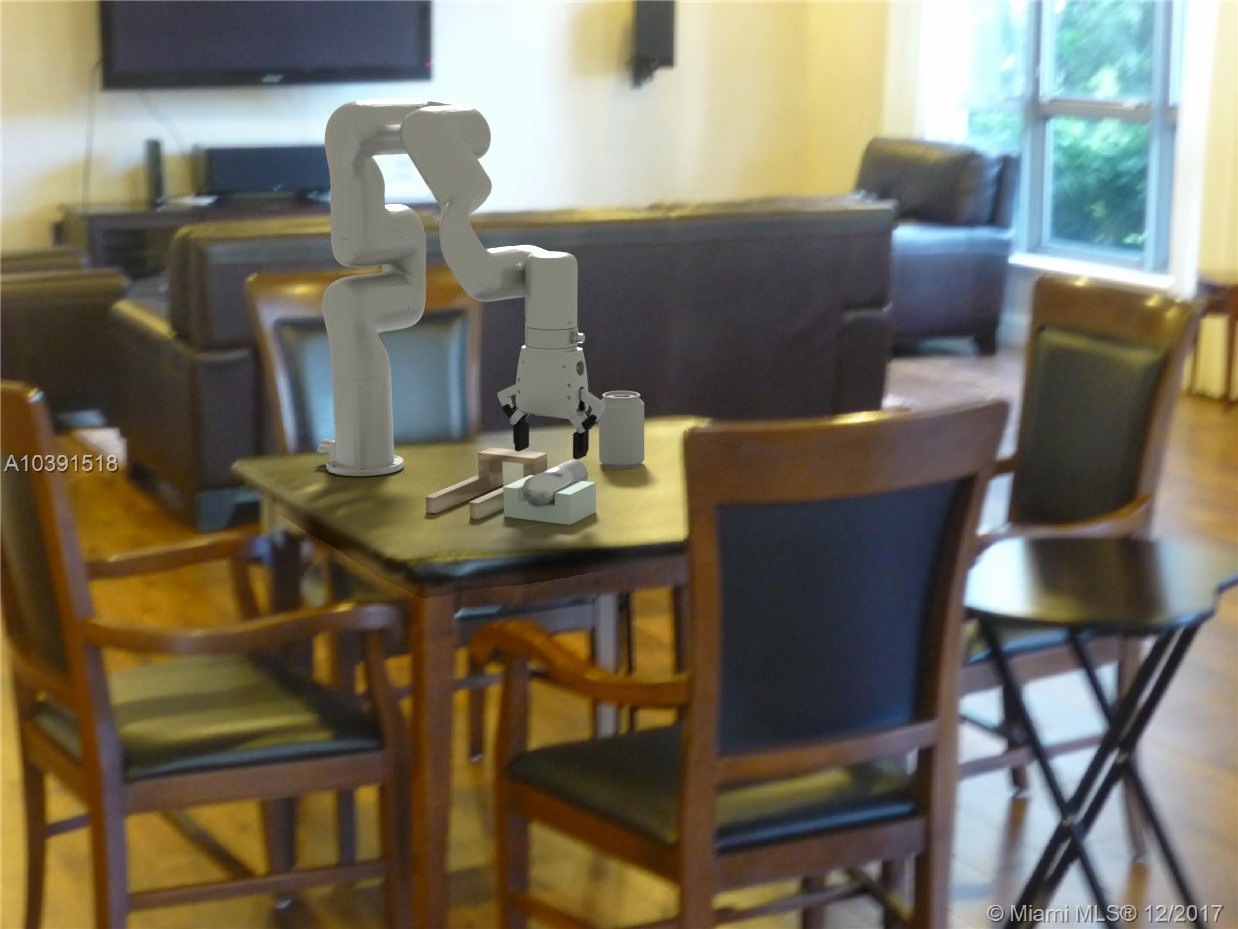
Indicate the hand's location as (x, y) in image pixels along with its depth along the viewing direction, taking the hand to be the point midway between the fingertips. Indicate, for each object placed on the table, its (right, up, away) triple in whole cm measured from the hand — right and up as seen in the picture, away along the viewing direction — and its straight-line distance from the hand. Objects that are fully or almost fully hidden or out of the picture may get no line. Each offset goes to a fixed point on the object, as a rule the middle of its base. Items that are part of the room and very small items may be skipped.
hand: (550, 453), depth 251 cm
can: (+11, -2, +31) cm, 33 cm away
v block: (0, -9, 0) cm, 9 cm away
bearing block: (-10, -7, +8) cm, 15 cm away
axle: (0, -6, 0) cm, 6 cm away
